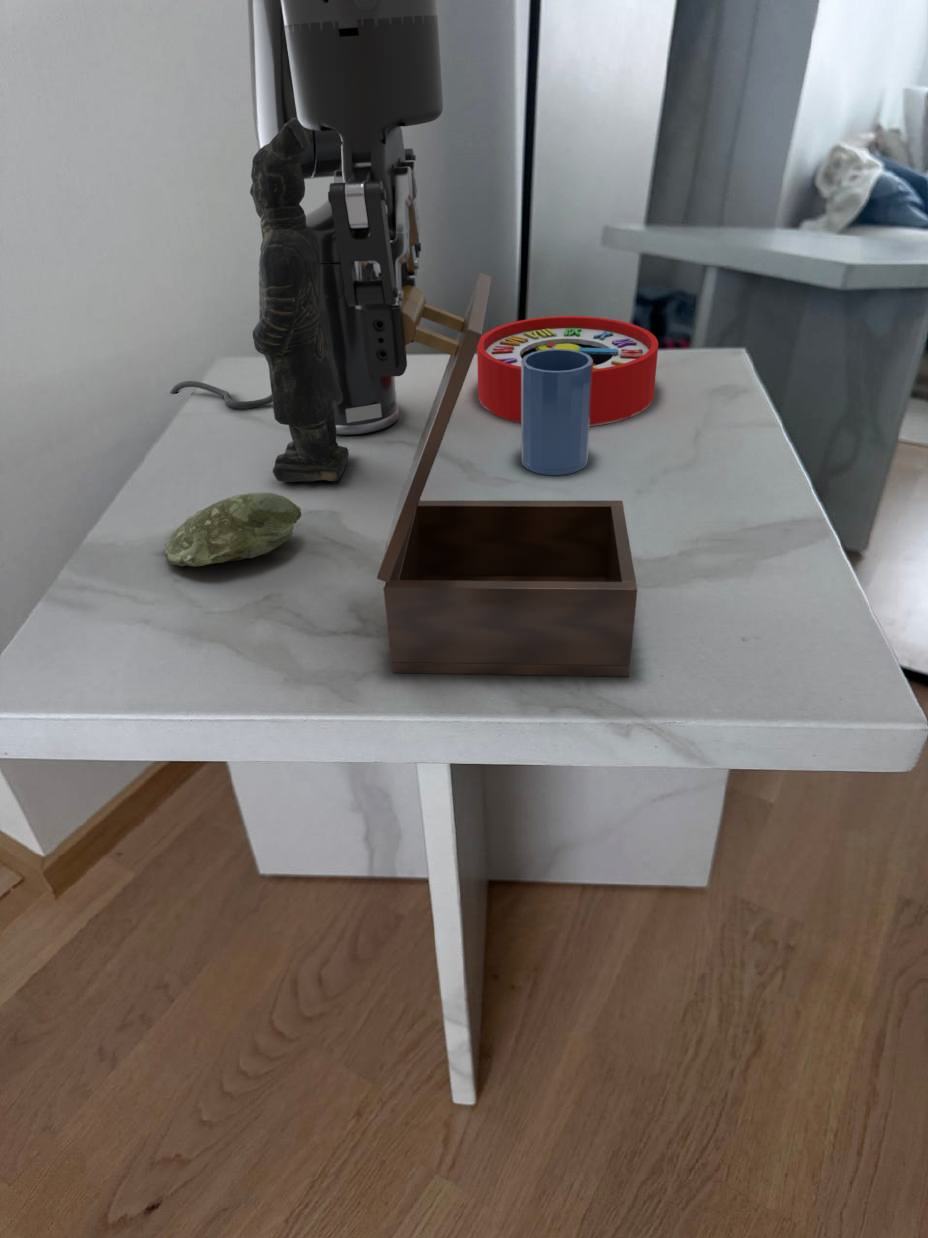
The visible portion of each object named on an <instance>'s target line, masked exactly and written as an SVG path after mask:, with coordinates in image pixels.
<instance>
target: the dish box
mask: <svg viewBox="0 0 928 1238" xmlns="http://www.w3.org/2000/svg"><path fill="white" fill-rule="evenodd" d="M624 508H625V507H624V502H623V500H419V503H418V506H417V508H416V511H415V514H414V516H413V519H412V522H411V524H410V527H409V530H408V532H407V535H406V538H405V540H404V543H403V546H402V548H401V551H400V554H399V556H398V559H397V562H396V564H395V567H394V570H393V572H392V575H391V578H390V580H389V582H385V581H384V584H383V587H382V588H383V598H384V606H385V617H386V625H387V635H388V644H389V652H390V653H389V654H390V663H391V670H392V673H394V674H447V675H448V674H451V675H452V674H454V675H508V676H510V675H511V676H568V677H569V676H570V677H571V676H574V677H575V676H576V677H577V676H578V677H579V676H580V677H581V676H582V677H630V673H631V661H632V650H633V640H634V628H635V621H636V620H635V618H636V607H637V598H638V597H637V596H638V585H637V580H636V574H635V568H634V562H633V556H632V549H631V544H630V539H629V531H628V526H627V520H626V519H627V518H626V514H625V509H624Z"/></svg>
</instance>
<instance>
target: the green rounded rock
mask: <svg viewBox="0 0 928 1238" xmlns="http://www.w3.org/2000/svg"><path fill="white" fill-rule="evenodd" d="M301 517H302V509H301V507H300V506H298V505H297V504H295V503H294V502H293V501H292V500H291V499H289V498H287V497H285V496H284V495H281V494H277V493H274V492H266V491H265V492H263V491H261V492H249V493H246V494H237V495H234V496H231V497H227V498H225V499H221V500H219V501H217V502H215V503H212V504H211V505H209V506H207V507H205V508H203V509H200V510H199V511H197V512H196V513H194V515H192V516H189V517H188V518H187V519H186V520H185V521H184V523H182V524H180V526H179V527H177V529H175V531H174V532H172V534H171V535H170V537H169V539H168V540H167V541H166V542H165V543H164V548H165V549H164V555H165V556H166V557H167V559H168V562H169V563H170V564H171V565H174V566H179V567H185V566H189V567H202V566H207V565H211V564H218V563H219V564H220V563H221V564H222V563H226V562H228V561H229V562H230V561H231V562H235V561H241V560H246V559H253V558H256V557H259V556H264V555H268V554H269V553H270V552H272V551H273V550H276V549H277V548H278V547H279V546H281V545H282V544H284V543H285V542H287V541H288V540H290V539H291V538H292V536H293V534H294V532H293V530H294V524H297V523H298V521H300V519H301Z"/></svg>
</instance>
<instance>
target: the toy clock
mask: <svg viewBox="0 0 928 1238" xmlns="http://www.w3.org/2000/svg"><path fill="white" fill-rule="evenodd" d="M548 349H569V350H575V351H580V352H583V353H585V354H587V355H589V356H590V357H591V358H592V359H593V370H592V390H591V410H590V427H593V426H594V427H595V426H601V425H608V424H612V423H616V422H621V421H623V420H626V419H630V418H631V417H634V416H636V415H638V414H640V413H642V412H643V411H644V410H646V409H648V407H649V406H650V405H651V404H652V402H653V400H654V396H655V387H656V378H657V377H656V376H657V365H658V364H657V363H658V354H659V353H658V352H659V341H658V338H657V337H656V336H655V335H654V334H653V333H652V332H650V331H649V330H647V329H645V328H643V327H641V326H640V325H636V324H633V323H630V322H626V321H621V320H617V319H611V318H606V317H596V316H586V315H585V316H584V315H583V316H582V315H557V316H556V315H555V316H544V317H535V318H534V317H533V318H528V319H522V320H517V321H513V322H507V323H505V324H502V325H500V326H497V327H494V328H492V329H490V330H488V331H487V332H484V333H483V334H482V336H481V338H480V341H479V344H478V346H477V349H476V358H477V359H476V361H477V362H476V363H477V396H478V401H479V403H480V405H482V407H483V408H485V410H487V411H488V412H490V413H491V414H494V415H495V416H497V417H500V418H502V419H505V420H508V421H511V422H514V423H515V422H516V423H519V424H521V360H522V359H523V357H524V356H526V355H528V354H530V353H532V352H536V351H541V350H548Z"/></svg>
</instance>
